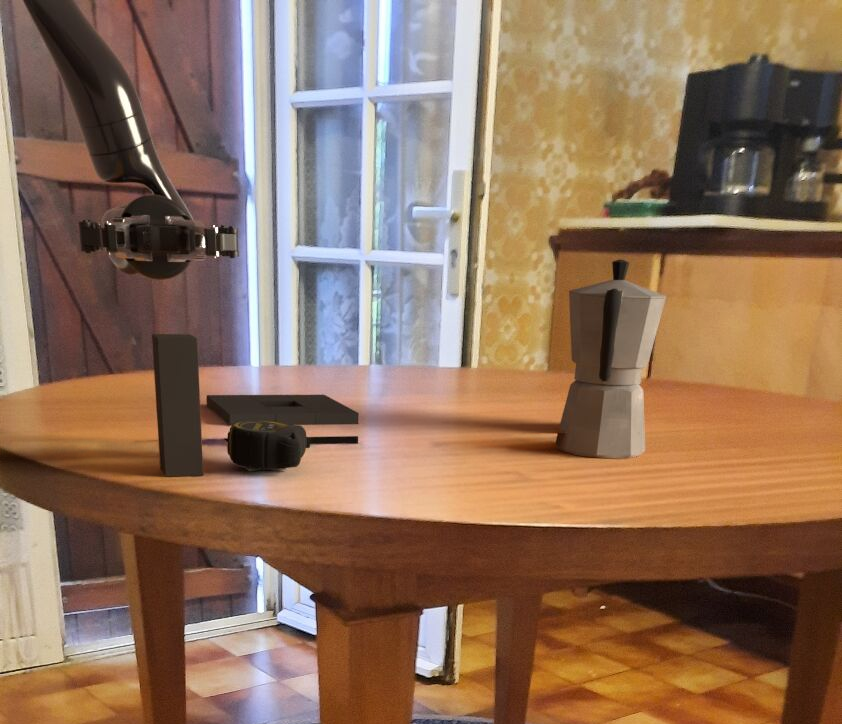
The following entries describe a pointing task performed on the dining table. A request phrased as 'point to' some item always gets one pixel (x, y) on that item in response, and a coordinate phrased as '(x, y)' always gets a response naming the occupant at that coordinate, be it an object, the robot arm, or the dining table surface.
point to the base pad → (286, 412)
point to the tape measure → (266, 445)
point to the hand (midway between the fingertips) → (163, 240)
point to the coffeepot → (609, 367)
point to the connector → (178, 404)
